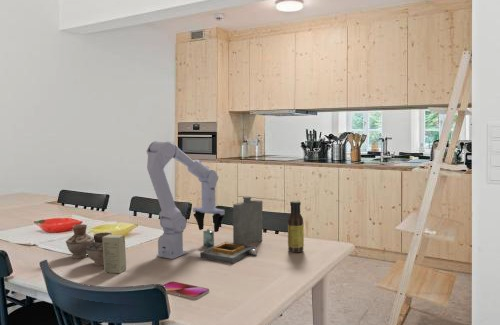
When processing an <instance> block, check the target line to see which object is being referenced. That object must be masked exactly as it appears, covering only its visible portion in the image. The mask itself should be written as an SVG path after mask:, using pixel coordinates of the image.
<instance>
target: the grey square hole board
mask: <svg viewBox="0 0 500 325" xmlns="http://www.w3.org/2000/svg"><path fill="white" fill-rule="evenodd" d="M249 255H253V256H257V255H258V249H256V245H249V244H245V245H244V244H237V243H233V242H229V241H224V242H221V243H220V244H217V245H216V246H215V245H214V246H213V247H209V248H208V249H206V250H203V251H201V252H200V259H203V260H209V261H216V262H223V263H229V264H234V263H236V262H238V261H240V260H242V259H244V258H245V257H247V256H249Z"/></svg>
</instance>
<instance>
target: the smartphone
mask: <svg viewBox="0 0 500 325" xmlns="http://www.w3.org/2000/svg"><path fill="white" fill-rule="evenodd" d="M162 285H163V286H165V288H166V289H167V293H166V294H169V293H171V294H170V295H173V294H175V296H177V295H180V296H179V297H181V296H183V297H182V298H185V297H188V298H187V299H189V298H191V299H190V300H198V298H199V299H200V298H202V297H204V296H206V295H207V294H209V293H210V289H209V288H207V287H202V286H197V285H192V284H187V283H183V282H178V281H168V282H166V283H165V284H164V283H163V284H162ZM208 292H209V293H208ZM206 293H207V294H206ZM205 294H206V295H205ZM203 295H204V296H203ZM201 296H202V297H201Z"/></svg>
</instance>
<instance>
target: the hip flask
mask: <svg viewBox="0 0 500 325" xmlns="http://www.w3.org/2000/svg"><path fill="white" fill-rule="evenodd" d="M242 199H243V202H237V203H233V205H232V207H233V208H232V214H233V215H232V219H233V222H232V223H233V225H232V226H233V227H232V232H233V236H232V237H233V238H232V241H233V242H232V243H237V244H244V245H249V244H253V243H256V242H262V241H263V200H256V199H255V200H253V199H252V196H249V195H248V196H242Z"/></svg>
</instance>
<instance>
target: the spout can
mask: <svg viewBox="0 0 500 325" xmlns="http://www.w3.org/2000/svg"><path fill="white" fill-rule="evenodd" d="M202 232H203V234H202V235H203V240H202V241H203V247H204V248H213V247H215V232H214V230H211V229H210V228H207V229H206V230H204V231H202Z"/></svg>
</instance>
